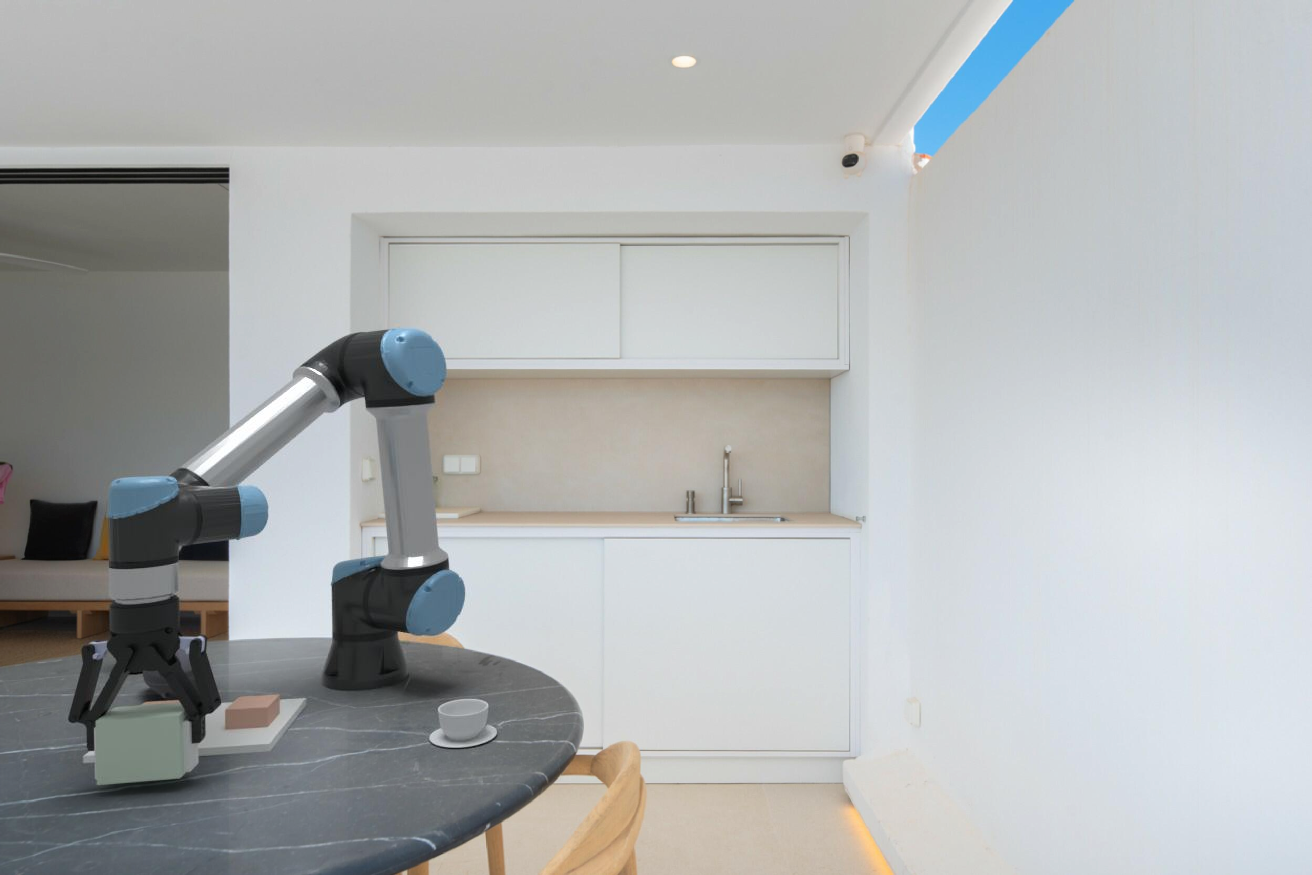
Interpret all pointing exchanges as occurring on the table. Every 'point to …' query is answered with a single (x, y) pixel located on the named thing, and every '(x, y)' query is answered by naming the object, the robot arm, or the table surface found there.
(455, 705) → the teacup
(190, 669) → the glasses case
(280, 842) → the table surface
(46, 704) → the table surface
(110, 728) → the key block
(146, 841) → the table surface
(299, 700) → the slot base
